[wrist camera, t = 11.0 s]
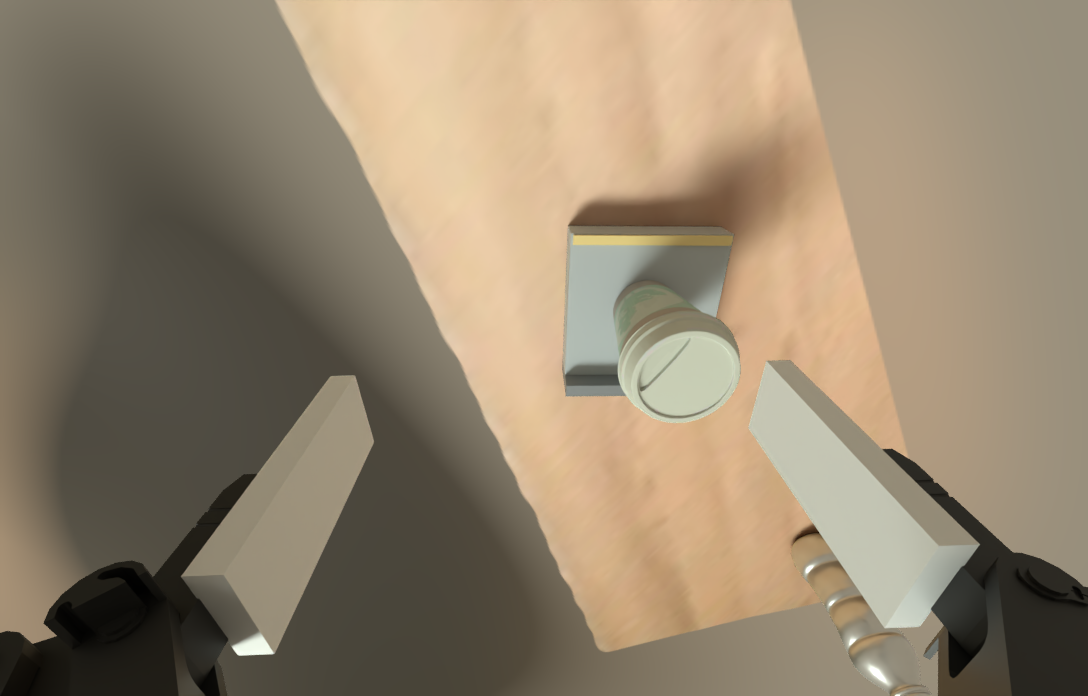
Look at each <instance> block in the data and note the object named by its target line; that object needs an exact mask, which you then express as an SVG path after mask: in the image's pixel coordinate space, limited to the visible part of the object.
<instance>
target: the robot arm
mask: <svg viewBox="0 0 1088 696" xmlns="http://www.w3.org/2000/svg"><path fill="white" fill-rule="evenodd" d="M749 430H750V431H751V433H752V434H753V436H754V437H755V438H756V440H757V441H758V443H759V444H760V446H761V447H762V449H763V450H764V452H765V453H766V455H767V456H768V458H769V459H770V461H771V462H772V463H773V465H774V466H775V468H776V469H777V471H778V472H779V474H780V475H781V477H782V478H783V480H784V481H785V483H786V484H787V486H788V487H789V488H790V490H791V491H792V493H793V494H794V496H795V497H796V499H797V500H798V502H799V503H800V505H801V506H802V508H803V509H804V511H805V512H806V513H807V515H808V516H809V518H810V519H811V521H812V522H813V524H814V525H815V527H816V528H817V530H818V531H819V533H820V534H821V536H822V537H823V538H824V540H825V541H826V543H827V544H828V546H829V547H830V549H831V550H832V552H833V553H834V555H835V556H836V558H837V559H838V561H839V562H840V563H841V565H842V566H843V568H844V569H845V571H846V572H847V574H848V575H849V577H850V578H851V580H852V581H853V583H854V584H855V586H856V587H857V588H858V590H859V591H860V593H861V594H862V596H863V597H864V599H865V600H866V602H867V603H868V605H869V606H870V608H871V609H872V611H873V612H874V614H875V615H876V616H877V618H878V619H879V621H880V622H881V624H882V625H883V627H884V628H899V627H919V626H920V625H921V624H922V623H923V621H924V620H925V618H926V617H927V616H928V614H929V613H930V612H931V610H932V611H933V612H934V613H935V615H936V616H937V617H938V618H939V620H940V621H941V622H942V623H943V625H944V626H943V628H942V629H941V630H940V631H939V633H938V634H937V635H936V637H935V638H934V639H933V640H932V642H931V643H930V644H929V646H928V647H927V648H926V651H925V653H924V657H926V658H928V659H931V658H932V657H933V655H934V654H935V653H936V652H937V651H938V696H1088V587H1083V586H1082V585H1081V584H1080V583H1079V582H1078V581H1077V580H1076V579H1074V578H1073V577H1071V576H1070V575H1069V574H1067V573H1065V572H1064V571H1063V570H1061V569H1060V568H1058V567H1056V566H1054V565H1052V564H1050V563H1048V562H1046V561H1044V560H1042V559H1040V558H1036V557H1033V556H1030V555H1026V554H1023V553H1013V552H1012V551H1010V550H1009V549H1008V548H1007V547H1006V546H1005V545H1004V544H1003V543H1002V542H1001V541H1000V540H999V539H997V538H996V537H995V536H994V535H993V534H992V533H991V532H990V531H989V530H988V529H987V528H985V527H984V526H983V525H982V524H981V523H980V522H979V521H978V520H977V519H976V518H975V517H973V515H971V514H970V513H969V512H968V511H967V510H966V509H965V508H964V507H963V506H961V504H960V503H958V502H957V501H956V500H955V499H954V498H953V497H949V495H948V492H946V491H945V490H944V489H943V488H942V487H941V486H940V485H939V484H938V483H934V481H933V479H932V478H931V477H930V476H929V475H928V474H927V473H926V472H925V471H924V470H923V469H921V468H920V467H919V466H918V465H917V464H916V463H915V462H913V461H911V460H910V459H908V458H906V457H905V456H903V455H901V454H900V453H898V452H896V451H895V450H893V449H881V448H880V447H879V446H878V445H877V444H876V443H875V442H874V441H873V440H872V439H871V438H870V437H869V436H868V435H867V434H866V433H865V432H864V431H863V430H862V429H861V428H860V427H859V426H858V425H856V424H855V423H854V422H853V421H852V420H851V419H850V418H849V417H848V416H847V415H846V414H845V413H844V412H843V411H842V410H841V409H840V408H839V407H838V406H837V405H836V404H835V403H834V402H833V401H832V400H831V399H830V398H829V397H828V396H827V395H826V394H825V393H824V392H823V391H821V390H820V389H819V388H818V387H817V386H816V385H815V384H814V383H813V382H812V381H811V380H810V379H809V378H808V377H807V376H806V375H805V374H804V373H803V372H802V371H801V370H800V369H799V368H798V367H797V366H796V365H795V364H794V363H793V362H792V361H791V360H779V361H766V364H765V368H764V372H763V376H762V379H761V383H760V387H759V390H758V394H757V398H756V402H755V405H754V409H753V413H752V417H751V420H750V424H749ZM373 443H374V440H373V437H372V433H371V429H370V426H369V423H368V419H367V416H366V412H365V409H364V405H363V402H362V398H361V395H360V391H359V388H358V384H357V381H356V378H355V376H331V377H330V378H329V379H328V381H327V382H326V383H325V385H324V386H323V387H322V389H321V390H320V391H319V393H318V394H317V395H316V397H315V398H314V399H313V401H312V402H311V403H310V405H309V406H308V408H307V409H306V410H305V412H304V413H303V414H302V415H301V417H300V418H299V419H298V421H297V422H296V423H295V425H294V426H293V428H292V429H291V430H290V431H289V433H288V434H287V435H286V437H285V438H284V439H283V441H282V442H281V443H280V445H279V446H278V448H277V449H276V450H275V451H274V453H273V454H272V456H271V457H270V458H269V460H268V461H267V462H266V463H265V465H264V466H263V467H262V469H261V470H260V472H259V473H258V474H244V475H242V476H241V477H240V478H239V479H237V480H236V481H235V482H233V483H232V484H231V485H230V486H228V487H227V488H226V489H224V490H223V491H222V492H221V494H220V495H219V496H218V497H217V499H216V500H215V501H214V502H213V504H212V505H211V506H210V508H209V511H208V512H205V514H204V515H203V516H202V517H201V519H200V520H199V521H198V522H197V524H196V527H195V528H192V530H191V531H190V532H189V533H188V535H187V536H186V537H185V538H184V540H183V541H182V542H181V543H180V545H179V546H178V547H177V548H176V550H175V551H174V552H173V553H172V554H171V556H170V557H169V558H168V559H167V561H166V562H165V563H164V564H163V566H162V567H161V568H160V569H159V571H158V572H157V573H156V574H155V576H154V577H152V575H151V574H150V573H149V572H148V570H147V569H146V568H145V566H144V565H143V564H142V563H138V562H135V561H125V562H118V563H114V564H112V565H109V566H106V567H104V568H101V569H98V570H97V571H95V572H93V573H92V574H90V575H88V576H86V577H85V578H83V579H81V580H79V581H78V582H77V583H76V584H74V585H73V586H72V587H71V588H70V589H68V590H67V591H66V592H64V593H63V594H62V595H61V596H60V598H59V599H58V600H57V601H56V602H55V603H54V605H53V606H52V607H51V608H50V609H49V612H48V614H47V616H46V619H45V621H44V624H45V625H46V626H48V628H49V629H50V630H51V631H53V632H54V633H55V634H56V635H57V636H56V637H53V638H50V639H47V640H44V641H41V642H38V643H34V644H32V643H31V642H30V641H29V640H27V639H26V638H25V637H24V636H23V635H22V634H21V633H19V632H10V631H6V632H2V633H0V696H227V691H226V686H225V681H224V676H223V671H222V667H221V665H220V664H219V662H218V660H217V658H218V657H219V655H220V653H221V651H222V650H223V648H224V646H225V644H226V643H227V641H228V642H229V644H230V645H231V646H232V648H233V649H234V650H235V652H236V653H237V654H238V655H258V654H259V655H261V654H275V651H276V649H277V647H278V645H279V643H280V641H281V639H282V636H283V634H284V632H285V630H286V628H287V626H288V624H289V622H290V619H291V617H292V615H293V613H294V611H295V609H296V607H297V605H298V603H299V600H300V598H301V596H302V594H303V592H304V590H305V588H306V586H307V583H308V581H309V579H310V577H311V575H312V573H313V571H314V568H315V566H316V564H317V562H318V560H319V558H320V556H321V553H322V551H323V549H324V547H325V545H326V543H327V541H328V539H329V537H330V534H331V532H332V530H333V528H334V526H335V524H336V522H337V519H338V517H339V515H340V513H341V511H342V509H343V507H344V505H345V502H346V500H347V498H348V496H349V494H350V492H351V490H352V488H353V486H354V483H355V481H356V479H357V477H358V475H359V473H360V471H361V468H362V466H363V464H364V462H365V460H366V458H367V456H368V454H369V452H370V449H371V447H372V445H373Z"/></svg>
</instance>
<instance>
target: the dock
mask: <svg viewBox="0 0 1088 696" xmlns="http://www.w3.org/2000/svg"><path fill="white" fill-rule="evenodd" d="M733 238H734V234H733V233H731V232H729V231H728V230H726V229H724V228H722V227H714V226H568V239H567V265H566V290H565V316H564V342H563V367H562V370H563V378H564V385H565V392H566V396H626V394H625V393H624V392H623V390H622V388H621V385H620V383H619V379H618V363H619V352H618V345H617V338H616V331H615V325H614V317H613V308H614V304H615V302H616V299H617V298H618V296H619V295H620V293H621V292H622V291H623V290H624V289H625V288H627V287H628V286H630V285H631V284H633V283H636V282H639V281H644V280H653V281H658V282H660V283H662V284H664V285H666V286H667V287H668V288H670V289H671V290H673V291H674V292H675V293H677V294H678V295H680V296H681V297H682V298H684V299H685V300H686V301H688V302H689V303H690V304H692V305H693V306H694V307H696V308H697V309H699V310H700V311H701V312H703V313H706V314H709V315H711V316H713V317H715V318H716V315H717V310H718V306H719V301H720V297H721V292H722V288H723V283H724V279H725V274H726V270H727V265H728V261H729V256H730V252H731V247H732V243H733Z"/></svg>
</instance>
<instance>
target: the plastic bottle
mask: <svg viewBox="0 0 1088 696" xmlns="http://www.w3.org/2000/svg"><path fill="white" fill-rule="evenodd" d="M791 557H792V559H793V562H794V565H795V567H796V568H797V570H798V571H799V572H800V574H801V575H802V576H803V578H804V579H805V580H806V581H807V582H808V583H809V584H810V586H811V587H812V588H813V590H814V591H815V593H816V594H817V596H818V597H819V599H820V600H821V601H822V603H823V604H824V606H825V608H826V610H827V612H828V613H829V615H830V617H831V619H832V621H833V623H834V624H835V626H836V628H837V630H838V632H839V635H840V637H841V639H842V641H843V644H844V646H845V648H846V650H847V653H848V654H849V657H850V659H851V661H852V663H853V665H854V666H855V668H856V669H857V670H858V671H859V672H860V673H861V674H862V675H863V676H864V677H865V678H867V679H868V680H870V681H871V682H872V683H874V684H875V685H877V686H879V687H880V688H882V689H883V690H885V691H886V692H888V693H889V695H890V696H932V694H931V692H930V691H929V689H928V688H927V687H926V686H923V685H922V684H921V682H920V666H919V660H918V656H917V654H916V652H915V649H914V647H913V645H912V644H911V643H910V642H909V640H908V639H907V638H906V637H905V636H904V635H903V633H902V632H901V631H900V630H899V629H898V628H884V627H883V625H882V624H881V622H880V621H879V619H878V618H877V616H876V615H875V614H874V612H873V611H872V609H871V608H870V606H869V605H868V603H867V602H866V600H865V599H864V597H863V596H862V594H861V593H860V591H859V590H858V588H857V587H856V586H855V584H854V583H853V581H852V580H851V578H850V577H849V575H848V574H847V572H846V571H845V569H844V568H843V566H842V565H841V563H840V562H839V561H838V559H837V558H836V556H835V555H834V553H833V552H832V550H831V549H830V547H829V546H828V544H827V543H826V541H825V540H824V538H823V537H822V536H821V534H820V533H812V534H808V535H805V536H803V537H801V538H799V539H798V540H797V541H796V542H795V543H794V544H793V546H792V550H791Z"/></svg>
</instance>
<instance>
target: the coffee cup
mask: <svg viewBox="0 0 1088 696" xmlns="http://www.w3.org/2000/svg"><path fill="white" fill-rule="evenodd" d="M613 317H614V325H615V331H616V338H617V345H618V352H619V363H618V379H619V383H620V385H621V388H622V390H623V392H624V393H625V394H626V396H627V397H628V399H629V400H630V401H631V402H632V403H633V404H634V405H635V406H636V407H637V408H639V409H640V410H642V411H643V412H644V413H645V414H647V415H648V416H650V417H652V418H654V419H656V420H660V421H663V422H669V423H684V422H690V421H694V420H697V419H700V418H703V417H705V416H707V415H709V414H711V413H713V412H714V411H716V410H717V409H718V408H720V407H721V406H722V405H723V404H724V403H725V402H726V401H727V400H728V399H729V398H730V396H731V395H732V394H733V392H734V390H735V389H736V386H737V384H738V381H739V378H740V372H741V365H740V355H739V349H738V346H737V343H736V341H735V339H734V336H733V334H732V333H731V331H730V330H729V328H728V327H727V326H726V325H725V324H724V323H723V322H721V321H720V320H719V319H717V318H715V317H713V316H711V315H709V314H706V313H703V312H701V311H700V310H699V309H697V308H696V307H694V306H693V305H692V304H690V303H689V302H688V301H686V300H685V299H684V298H682V297H681V296H680V295H678V294H677V293H675V292H674V291H673V290H671V289H670V288H668V287H667V286H666V285H664V284H662V283H660V282H658V281H653V280H644V281H639V282H636V283H633V284H631V285H630V286H628V287H627V288H625V289H624V290H623V291H622V292H621V293H620V295H619V296H618V298H617V299H616V302H615V304H614V308H613Z"/></svg>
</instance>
